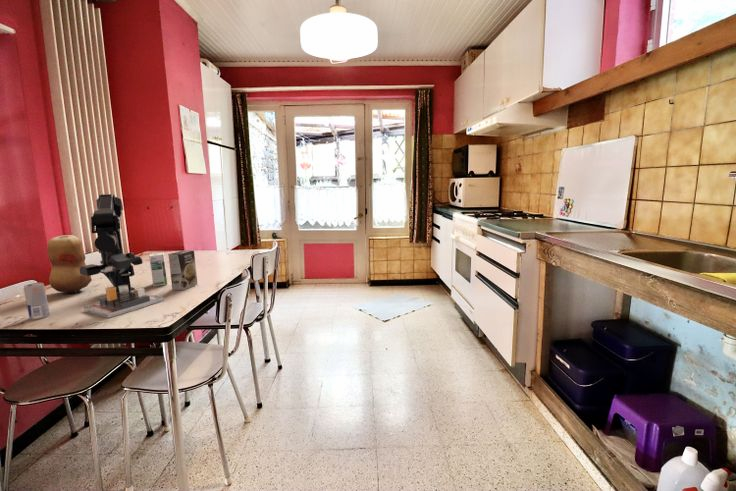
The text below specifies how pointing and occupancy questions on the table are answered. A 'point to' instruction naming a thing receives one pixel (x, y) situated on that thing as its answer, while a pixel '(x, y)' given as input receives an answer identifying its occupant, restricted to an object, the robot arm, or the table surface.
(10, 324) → the table surface
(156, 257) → the syrup box
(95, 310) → the panel
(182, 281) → the coffee box
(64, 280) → the butternut squash
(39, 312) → the white carton
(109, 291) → the orange rectangular block
